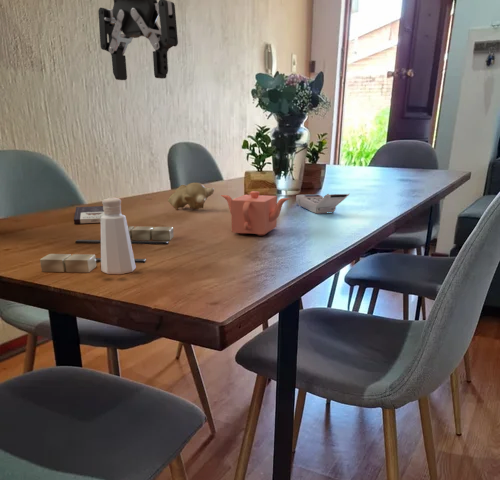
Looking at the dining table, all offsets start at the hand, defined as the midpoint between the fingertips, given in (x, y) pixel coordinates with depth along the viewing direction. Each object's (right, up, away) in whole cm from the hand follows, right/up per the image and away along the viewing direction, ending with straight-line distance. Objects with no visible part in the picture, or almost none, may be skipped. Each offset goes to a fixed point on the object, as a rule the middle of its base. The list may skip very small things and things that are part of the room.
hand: (140, 79), depth 83 cm
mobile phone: (+36, -10, +49) cm, 61 cm away
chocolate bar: (-20, -13, +41) cm, 47 cm away
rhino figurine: (+3, -10, +50) cm, 51 cm away
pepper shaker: (-3, -32, -2) cm, 32 cm away
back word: (-7, -23, +17) cm, 30 cm away
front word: (-7, -31, 0) cm, 32 cm away
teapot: (+19, -21, +24) cm, 37 cm away
